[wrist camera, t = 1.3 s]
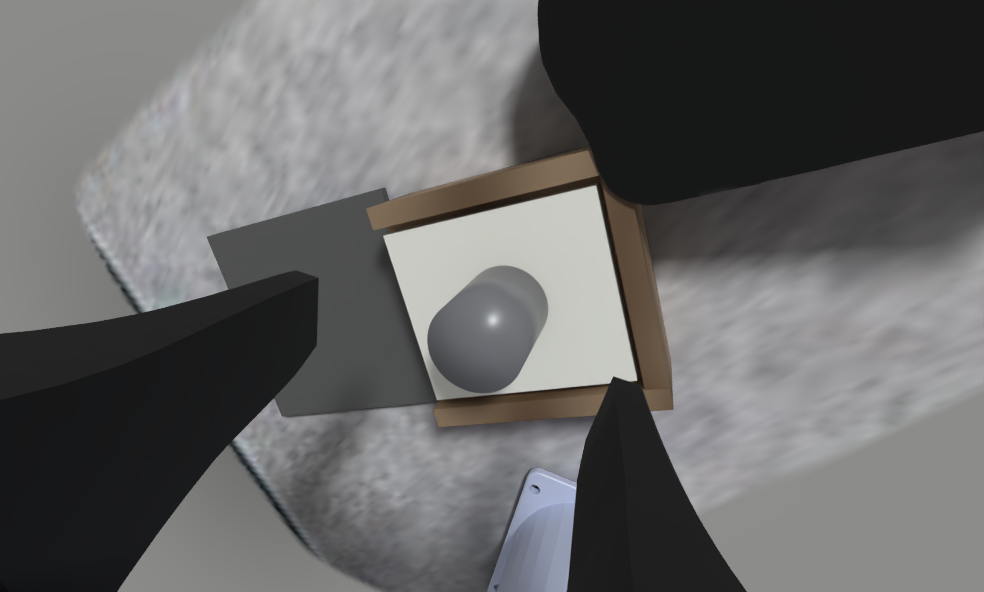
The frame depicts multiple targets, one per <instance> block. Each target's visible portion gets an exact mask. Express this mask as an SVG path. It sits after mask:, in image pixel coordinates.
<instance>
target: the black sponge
mask: <svg viewBox="0 0 984 592" xmlns="http://www.w3.org/2000/svg"><path fill="white" fill-rule="evenodd" d="M538 29H539V46H540V51H541V56H542V61H543V65H544V67H545V69H546V72H547V74H548V76H549V78H550V80H551V83H552V85H553V87H554V89H555V91H556V93H557V95H558V96H559V97H560V98H561V100H562V101H563V102H564V104H565V105H566V106H567V108H568V109H569V110H570V111H571V113H572V114H573V115H574V117H575V118H576V119H577V120H578V122H579V124H580V126H581V128H582V130H583V132H584V134H585V136H586V138H587V140H588V142H589V145H590V148H591V151H592V154H593V157H594V160H595V163H596V166H597V168H598V171H599V173H600V175H601V176H602V178H603V180H604V182H605V183H606V185H607V187H608V188H609V190H611V191H612V192H613V193H614V194H616V195H617V196H618V197H620V198H622V199H624V200H626V201H628V202H631V203H636V204H642V205H657V204H663V203H669V202H675V201H679V200H684V199H688V198H693V197H697V196H702V195H706V194H710V193H715V192H720V191H725V190H730V189H735V188H740V187H745V186H750V185H755V184H759V183H762V182H765V181H768V180H773V179H778V178H782V177H787V176H792V175H797V174H801V173H806V172H811V171H815V170H820V169H824V168H828V167H832V166H836V165H840V164H845V163H849V162H853V161H857V160H861V159H865V158H869V157H873V156H878V155H882V154H887V153H891V152H896V151H900V150H904V149H909V148H913V147H918V146H922V145H926V144H931V143H935V142H939V141H943V140H948V139H952V138H956V137H960V136H965V135H969V134H973V133H977V132H982V131H984V0H539V1H538Z"/></svg>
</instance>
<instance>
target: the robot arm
mask: <svg viewBox="0 0 984 592" xmlns="http://www.w3.org/2000/svg"><path fill="white" fill-rule="evenodd" d="M318 287H319V278H318V277H315V276H312V275H309V274H306V273H303V272H300V271H297V270H295V271H290V272H286V273H282V274H279V275H275V276H272V277H268V278H265V279H262V280H259V281H255V282H252V283H249V284H246V285H242V286H239V287H236V288H233V289H229V290H226V291H223V292H219V293H216V294H213V295H210V296H206V297H202V298H199V299H195V300H191V301H187V302H184V303H180V304H176V305H173V306H169V307H165V308H161V309H157V310H153V311H149V312H144V313H140V314H135V315H130V316H126V317H120V318H115V319H110V320H104V321H99V322H93V323H86V324H78V325H71V326H64V327H56V328H49V329H42V330H34V331H25V332H14V333H4V334H0V592H117V591H118V590H119V588H120V586H121V585H122V583H123V582H124V581H125V579H126V578H127V576H128V575H129V573H130V572H131V571H132V569H133V568H134V566H135V565H136V563H137V562H138V560H139V559H140V558H141V556H142V555H143V553H144V552H145V551H146V549H147V548H148V546H149V545H150V543H151V542H152V541H153V539H154V538H155V536H156V535H157V534H158V532H159V531H160V530H161V528H162V527H163V526H164V524H165V523H166V522H167V520H168V519H169V518H170V516H171V515H172V514H173V512H174V511H175V510H176V508H177V507H178V506H179V504H180V503H181V502H182V500H183V499H184V498H185V496H186V495H187V494H188V493H189V491H190V490H191V489H192V488H193V486H194V485H195V484H196V482H197V481H198V480H199V479H200V478H201V476H202V475H203V474H204V472H205V471H206V470H207V469H208V467H209V466H210V465H211V463H212V462H213V461H214V460H215V459H216V457H218V456H219V454H220V453H221V452H222V451H223V450H224V449H225V448H226V447H227V445H228V444H229V443H230V442H231V441H232V440H233V439H234V438H235V437H236V436H237V435H238V434H239V433H240V432H241V431H242V430H243V429H244V428H245V427H246V426H247V425H248V424H249V423H250V422H251V421H252V420H253V419H254V418H255V417H256V416H257V415H258V414H259V413H260V412H261V411H262V410H263V409H264V408H265V407H266V406H267V405H268V403H269V402H270V401H271V400H272V399H273V398H274V397H275V396H276V395H277V394H278V393H279V392H280V391H281V390H282V389H283V388H284V387H285V386H286V385H287V384H288V383H289V382H290V380H291V379H292V378H293V377H294V376H295V375H296V373H297V372H298V371H299V369H300V368H301V367H302V365H303V364H304V363H305V361H306V360H307V359H308V357H309V356H310V354H311V353H312V351H313V350H314V349H315V347H316V346H317V324H318ZM532 485H536V486H538V487H539V489H536V488H534V487H532ZM487 592H747V591H746V590H745V589H744V587H743V586H742V584H741V583H740V582H739V580H738V579H737V577H736V576H735V575H734V573H733V572H732V570H731V569H730V567H729V566H728V564H727V563H726V561H725V560H724V558H723V557H722V555H721V554H720V552H719V551H718V549H717V547H716V546H715V544H714V542H713V541H712V539H711V537H710V536H709V534H708V533H707V531H706V529H705V528H704V526H703V524H702V523H701V521H700V519H699V517H698V516H697V514H696V512H695V510H694V508H693V506H692V504H691V502H690V501H689V499H688V497H687V495H686V493H685V491H684V489H683V487H682V485H681V483H680V481H679V478H678V476H677V474H676V472H675V470H674V468H673V466H672V463H671V461H670V459H669V456H668V454H667V452H666V450H665V447H664V445H663V443H662V440H661V438H660V435H659V433H658V430H657V428H656V425H655V422H654V420H653V417H652V414H651V412H650V409H649V406H648V403H647V400H646V397H645V394H644V392H643V389H642V387H641V385H638V384H635V383H632V382H629V381H626V380H623V379H620V378H617V377H614V376H613V378H612V380H611V383H610V385H609V387H608V389H607V392H606V394H605V396H604V399H603V401H602V403H601V406H600V408H599V410H598V413H597V415H596V417H595V419H594V422H593V424H592V426H591V429H590V431H589V433H588V436H587V438H586V441H585V445H584V450H583V455H582V459H581V464H580V469H579V474H578V479H577V483H575V482H573V481H570V480H568V479H565V478H563V477H561V476H558V475H556V474H553V473H551V472H549V471H546V470H544V469H541V468H533V469H531V470H530V472H529V474H528V477H527V479H526V482H525V485H524V488H523V491H522V494H521V496H520V499H519V502H518V505H517V508H516V511H515V513H514V516H513V519H512V522H511V525H510V528H509V530H508V533H507V536H506V539H505V542H504V545H503V547H502V550H501V553H500V556H499V559H498V562H497V564H496V567H495V570H494V573H493V576H492V579H491V581H490V584H489V587H488V590H487Z"/></svg>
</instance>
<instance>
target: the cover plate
mask: <svg viewBox="0 0 984 592" xmlns="http://www.w3.org/2000/svg"><path fill="white" fill-rule="evenodd" d="M383 237H384V240H385V243H386V246H387V249H388V252H389V255H390V258H391V261H392V264H393V268H394V271H395V274H396V277H397V280H398V283H399V286H400V289H401V292H402V295H403V298H404V301H405V304H406V307H407V310H408V313H409V316H410V319H411V322H412V326H413V329H414V332H415V335H416V338H417V341H418V344H419V347H420V350H421V353H422V356H423V359H424V362H425V365H426V368H427V371H428V374H429V377H430V380H431V383H432V387H433V390H434V393H435V396H436V399H437V400H443V399H454V398H464V397H474V396H485V395H495V394H505V393H516V392H526V391H536V390H547V389H557V388H567V387H578V386H588V385H598V384H609V383H611V380H612V378H613V376H614V377H617V378H620V379H623V380H626V381H637V377H638V367H637V363H636V358H635V353H634V348H633V344H632V339H631V334H630V329H629V324H628V320H627V315H626V310H625V305H624V301H623V296H622V291H621V286H620V281H619V277H618V272H617V267H616V262H615V258H614V253H613V248H612V243H611V239H610V234H609V229H608V224H607V219H606V215H605V210H604V205H603V200H602V196H601V191H600V186H599V182H597V183H593V184H589V185H585V186H580V187H576V188H572V189H568V190H564V191H560V192H555V193H551V194H547V195H543V196H539V197H534V198H530V199H526V200H522V201H518V202H513V203H509V204H505V205H501V206H497V207H493V208H488V209H484V210H480V211H476V212H472V213H467V214H463V215H459V216H455V217H451V218H446V219H442V220H438V221H434V222H430V223H425V224H421V225H417V226H413V227H409V228H405V229H400V230H396V231H393V232H391V233H388V234H386V235H384V236H383Z"/></svg>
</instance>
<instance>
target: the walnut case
mask: <svg viewBox="0 0 984 592" xmlns="http://www.w3.org/2000/svg"><path fill="white" fill-rule="evenodd" d="M597 182H599V186H600V191H601V196H602V200H603V205H604V210H605V215H606V219H607V224H608V229H609V234H610V239H611V243H612V248H613V253H614V258H615V262H616V267H617V272H618V277H619V281H620V286H621V291H622V296H623V301H624V305H625V310H626V315H627V320H628V324H629V329H630V334H631V339H632V344H633V348H634V353H635V358H636V363H637V367H638V377H637V381H629V382H632V383H635V384H638V385H641V387H642V389H643V392H644V394H645V397H646V400H647V403H648V406H649V409H650V411H661V410H673V391H672V368H671V359H670V354H669V348H668V343H667V338H666V333H665V327H664V322H663V317H662V312H661V306H660V301H659V296H658V291H657V285H656V280H655V275H654V270H653V264H652V259H651V254H650V249H649V243H648V238H647V233H646V228H645V222H644V217H643V212H642V207H641V204H636V203H631V202H628V201H626V200H624V199H622V198H620V197H618V196H617V195H616V194H614V193H613V192H612V191H611V190H609V188H608V187H607V185H606V183H605V182H604V180H603V178H602V176H601V175H600V173H599V171H598V168H597V166H596V163H595V160H594V157H593V154H592V151H591V148H590V146H587V147H583V148H579V149H575V150H572V151H568V152H564V153H560V154H557V155H553V156H549V157H545V158H542V159H538V160H534V161H530V162H527V163H523V164H519V165H515V166H511V167H508V168H504V169H500V170H496V171H493V172H489V173H485V174H481V175H478V176H474V177H470V178H466V179H463V180H459V181H455V182H451V183H448V184H444V185H440V186H436V187H433V188H429V189H425V190H421V191H417V192H414V193H410V194H407V195H404V196H401V197H398V198H395V199H392V200H390V201H387V202H384V203H381V204H378V205H375V206H372V207H370V208H367V209H366V210H367V213H368V216H369V219H370V222H371V225H372V228H373V230H377V229H381V228H385V227H387V228H388V231H389V233H391V232H393V231H396V230H400V229H405V228H409V227H413V226H417V225H421V224H425V223H430V222H434V221H438V220H442V219H446V218H451V217H455V216H459V215H463V214H467V213H472V212H476V211H480V210H484V209H488V208H493V207H497V206H501V205H505V204H509V203H513V202H518V201H522V200H526V199H530V198H534V197H539V196H543V195H547V194H551V193H555V192H560V191H564V190H568V189H572V188H576V187H580V186H585V185H589V184H593V183H597ZM609 385H610V383H609V384H598V385H588V386H578V387H567V388H557V389H547V390H536V391H526V392H516V393H505V394H495V395H485V396H474V397H464V398H454V399H443V400H440V401H439V402H438V404H437V405H436V406H435V408H434V409H433V412H434V415H435V418H436V421H437V424H438V427H448V426H461V425H475V424H488V423H501V422H515V421H528V420H541V419H554V418H568V417H581V416H594V415H597V413H598V410H599V408H600V406H601V403H602V401H603V399H604V396H605V394H606V392H607V389H608V387H609Z"/></svg>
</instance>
